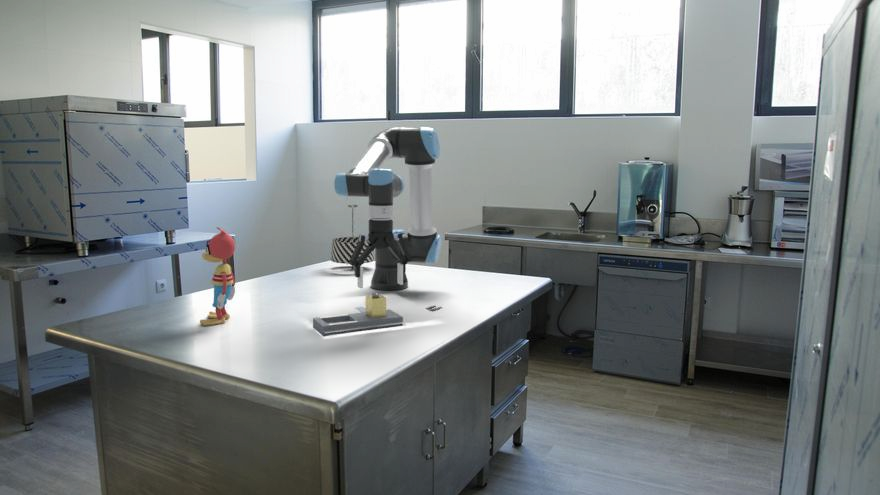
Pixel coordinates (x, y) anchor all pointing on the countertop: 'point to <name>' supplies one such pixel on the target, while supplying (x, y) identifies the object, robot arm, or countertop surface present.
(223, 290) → the toy
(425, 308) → the pliers
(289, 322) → the countertop surface
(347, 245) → the pendant light
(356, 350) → the countertop surface
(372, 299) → the block
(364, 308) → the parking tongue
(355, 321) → the rail board
